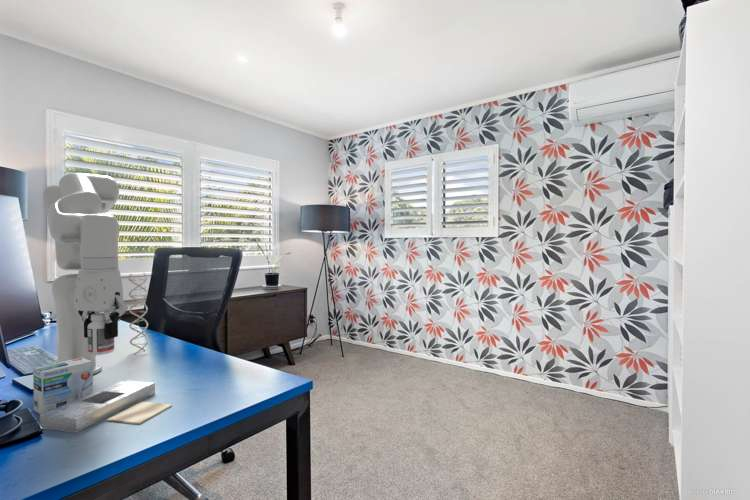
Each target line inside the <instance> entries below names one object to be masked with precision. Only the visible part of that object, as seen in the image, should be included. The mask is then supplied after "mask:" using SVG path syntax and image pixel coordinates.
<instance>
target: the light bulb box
mask: <svg viewBox="0 0 750 500" xmlns="http://www.w3.org/2000/svg"><path fill="white" fill-rule="evenodd" d="M32 374H33V375H32V377H33V382H32V384H33V387H32V388H33V411H34V412H36V413H37V414H39V415H41V414H44V413H46V412H49V411H51V410H53V409H56V408H58V407H61V406H63V405H66V404H68V403H70V402H73V401H75V400H78V399H80V398H82V397H85V396H87V395H90V394H92V393H94V391H93V390H94V388H93V387H94V385H93V382H94V381H93V375H94V374H93V362H92V361H90V360H87V359H85V358H82V357H81V358H77V359H72V360H68V361H63V362H58V363H54V364H46V365H41V366H36V367H33V371H32Z"/></svg>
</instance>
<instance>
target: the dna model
mask: <svg viewBox="0 0 750 500" xmlns="http://www.w3.org/2000/svg"><path fill="white" fill-rule="evenodd" d="M143 275H144V277H145V278H143V279H139V281H142V282H141V283H139V284H138V283H137V282H135V281H134V280H133V279H131V277H132V276H133V274H132V273H131V274H129V275H128V279H127V280H128V281H129V282H130V283H132V284H134V285H135V286H136V287H134V288H132V289H131V290H130V291H129V293H128V296H129V297H130V298H131V299H133V300H134V301H136V303H134V304H133V305H130V307H129V308H128V311H129V313H130V314H131V315H134V316H135V317H137V318H135V320H134V321H130V323H129V326H128V327H129V329H131V330H132V331H135V332H136V333H138V334H137V335H135V336H134V337H133V338H131V339H130V341H129V344H130V345H131V346H134V347H136V348H138V350H137V351H136V352H135V353H133V355H132V356H135V355H137V354H138V353H140V352H141V351H144V352H146V349H144V348H146V347H147V345H148V343H149V337H148V336H147V334H145V333H144V332H146V330H147V329H148V328H149V322H148V321H147V320H146V318H144V316H145V315H146V314H147V313H148V309H149V308H148V306H147V303H146V302H143V300H145V299H146V298H147V296H148V291H147V289H146V287H144V286H142V285H144V284H145V283H146V282H147V280H148V276H147V274H146V273H145V272H143ZM138 290H139V291H140V290H143V291H145V295H143V294H142V295H141V294H140V295H135V296H133V295H131V294H132V293H133V291H138ZM135 297H142V299H140V300H139V299H138V298H135ZM140 306H144V307H145V310H143V311H139V313H143V314H141V315H139V314H137V313H136V312H134V311H132V309H133V308H134V307H140ZM140 319H141V320H140ZM143 321H144V322H145V324H146V326H145V327H139V329H143V330H142V331H140V330H137V328H135V327H132V325H133V324H135V323H139V322H143ZM141 335H142V336H141ZM144 337H145V339H146V341H145V343H144V344H143V346H139V343H133V340H137V339H140V338H144Z"/></svg>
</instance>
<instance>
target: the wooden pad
mask: <svg viewBox="0 0 750 500" xmlns="http://www.w3.org/2000/svg"><path fill="white" fill-rule="evenodd" d="M172 406H173V404H172V403H171V404H170V403H159V402H151V401H150V402H149V401H139V402H137V403H135V404H133V405H131V406H129V407H127V408H125V409H123V410H121V411H119V412H117V413H115V414H113V415H111V416H109V417H107V418H106V421H107V422H113V423H122V424H132V425H141V424H143V423H146V422H147V421H148V420H151V419H152V418H154V417H156V416H157V415H158V414H160V413H162V412H164V411H166V410H168V409H170V408H172Z"/></svg>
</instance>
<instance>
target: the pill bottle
mask: <svg viewBox="0 0 750 500" xmlns="http://www.w3.org/2000/svg"><path fill="white" fill-rule="evenodd" d="M91 321H92V323H90V324H89V325H88V327H87V330H88V354H89V355H96V356H102V355H108V354H111V353H113V352H114V351H115V338H111V339H108V340H107V339H105V331H104V325H105V323H107V321H106V318H105V314H104V312H97V313H94V314H91Z"/></svg>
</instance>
